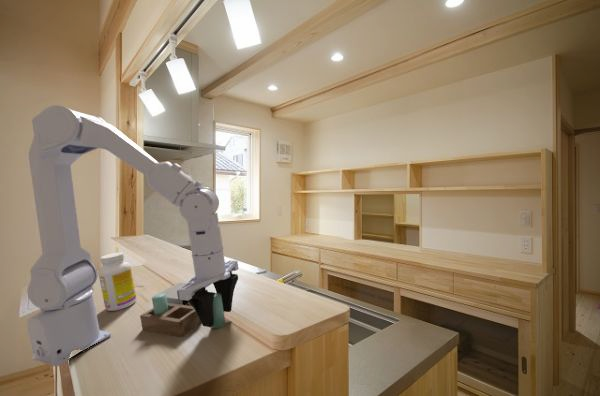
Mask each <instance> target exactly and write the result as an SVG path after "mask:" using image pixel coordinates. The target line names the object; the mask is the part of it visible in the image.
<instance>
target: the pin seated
mask: <svg viewBox="0 0 600 396" xmlns="http://www.w3.org/2000/svg"><path fill="white" fill-rule="evenodd" d="M157 294H158V295H157ZM157 294H155V295H154V296H152V297H151V302H152V307H153V308H154V314H155V315H158V316H161V315H162V314H164V313H166V312H167V311H169V310H168V304H167V299H166V294H164V293H162V294H159V293H157Z"/></svg>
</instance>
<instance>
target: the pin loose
mask: <svg viewBox="0 0 600 396" xmlns="http://www.w3.org/2000/svg"><path fill="white" fill-rule="evenodd" d="M214 293H215V295H214V300H213V317H214V324H213V326H212V327H211V328H212V329H220V328H222V327H225V325H226V318H225V312H224V310H223V304H222V297H221V294H220V293H217V292H214Z"/></svg>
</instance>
